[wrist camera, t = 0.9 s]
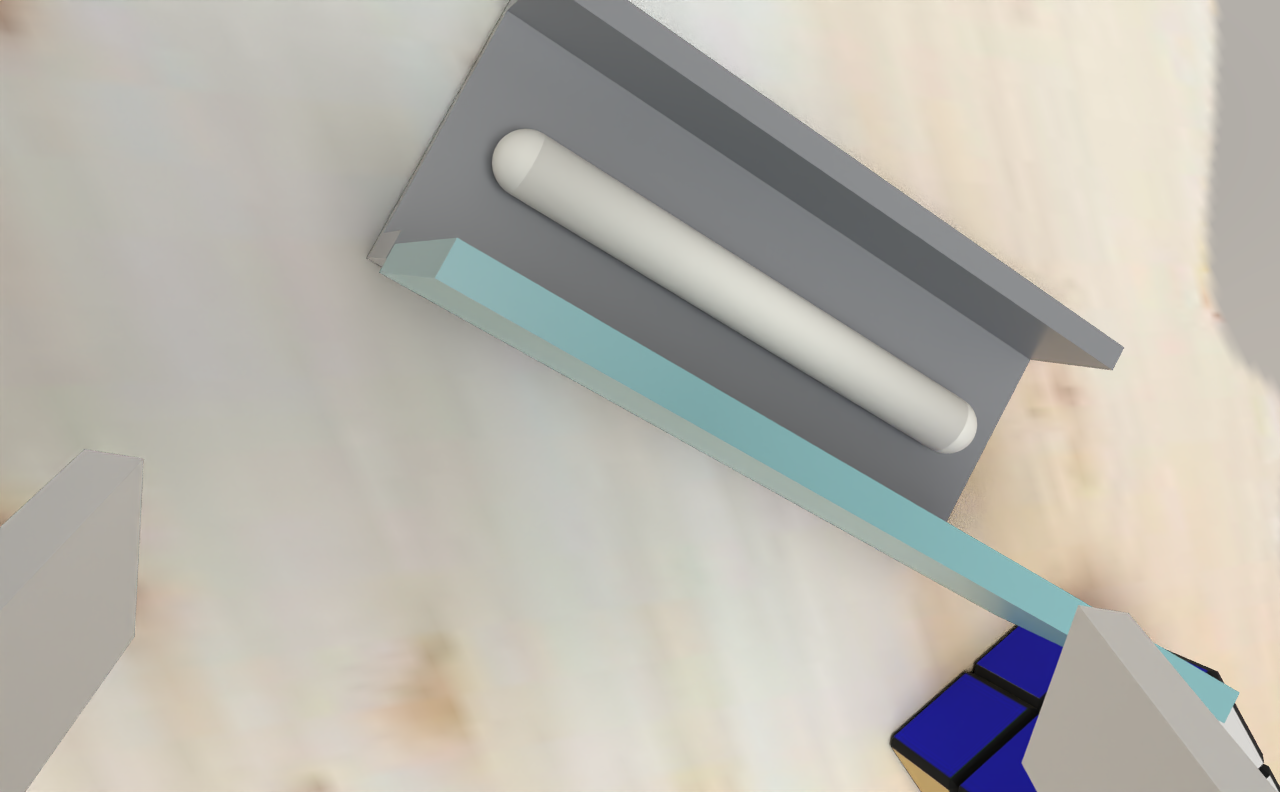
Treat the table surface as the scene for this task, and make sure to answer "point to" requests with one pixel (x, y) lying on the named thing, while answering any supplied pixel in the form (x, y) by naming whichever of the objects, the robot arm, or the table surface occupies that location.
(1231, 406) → the table surface
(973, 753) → the puzzle cube
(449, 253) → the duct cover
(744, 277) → the white rounded rod
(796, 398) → the cable duct
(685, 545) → the table surface
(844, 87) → the table surface
